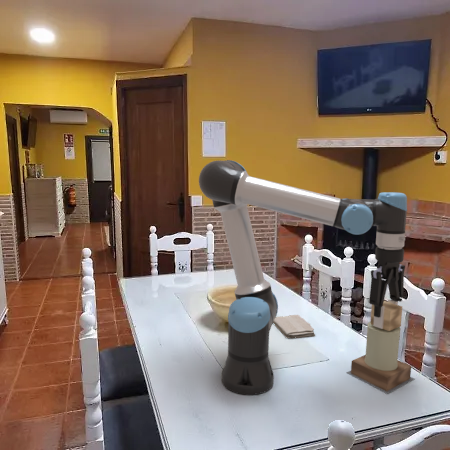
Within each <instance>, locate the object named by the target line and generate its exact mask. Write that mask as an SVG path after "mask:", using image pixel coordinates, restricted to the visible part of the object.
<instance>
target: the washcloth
mask: <svg viewBox="0 0 450 450" xmlns="http://www.w3.org/2000/svg"><path fill="white" fill-rule="evenodd" d="M273 323H274V324H275V325H274V324H273V325H274V326H275V327H276V328H277V330H278V331H280V332H281V333H282V334H283V336H286V337H287V338H288V339H302V338H311V337H315V336H316V334H315V331H314V330H315V329H314V328H313V327H312V325H311V323H309V322H308V321H307V320H305V319H304V318H303V317H302V316H300V315H299V314H292V315H290V314H289V315H286V316H285V315H284V316H276V318H275V319H274V322H273ZM286 337H285V338H286ZM295 337H296V338H295ZM287 338H286V339H287Z"/></svg>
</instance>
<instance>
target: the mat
mask: <svg viewBox="0 0 450 450" xmlns="http://www.w3.org/2000/svg"><path fill="white" fill-rule="evenodd" d="M346 374H347V375H349V376H351V377H353V378H355V379H358V381H361V382H363V383H364V384H367V385H369V386H371V387H373V388H375V389H376V390H379V391H381V392H383V393H385V394H386V395H390V394H392V392H395V391H397V390H399V389H400V388H402V387H403V386H405V385H408V384H409V383H411V382H412V381H414V380H415V377H412V376H410V379H408V380H407V381H405V382H403V383H401V384H399V385H397V386H396V387H394V388H392V389H390V390H388V391H385V390H383V389H381V388H379V387H377V386H375V385H373V384H371V383H369V382H367V381H365V380H363V379H361V378H359V377H357V376H355V375H354V374H352V373H351V370H349V371H346Z"/></svg>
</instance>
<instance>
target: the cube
mask: <svg viewBox="0 0 450 450" xmlns="http://www.w3.org/2000/svg"><path fill="white" fill-rule="evenodd" d="M383 306H385V308H384V324H383V329H385V330H387V331H391V330H393V329H395V328H398V327H400V328H401V327H402V318H403V317H402V315H403V306H402V305H399V304H398V305H396V304H393V303H389V302H388V301H386V300H384V302H383ZM370 322H371V325H373V324H374V305H372V304H371V312H370Z"/></svg>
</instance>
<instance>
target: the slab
mask: <svg viewBox="0 0 450 450" xmlns="http://www.w3.org/2000/svg"><path fill="white" fill-rule="evenodd" d="M365 355H366V354H365ZM365 355H362V356H360V357H356V358H355V359H352V360H351V366H350V371H351V373H352V374H354V375H355V376H357V377H359V378H361V379H363V380H365V381H367V382H369V383H371V384H373V385H375V386H377V387H379V388H381V389H383V390H385V391H388V390H390V389H392V388H394V387H396V386H397V385H399V384H401V383H403V382H405V381H407V380H408V379H410V377H411V373H412V365H410V364H408V363H406V362H403V361H401V360H399V359H398V361H397V364H398V367H397V368H396V369H395V370H392V371H382V370H377V369H374V368H372V367H370V366H368V365H367V364H366V363H365Z"/></svg>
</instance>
